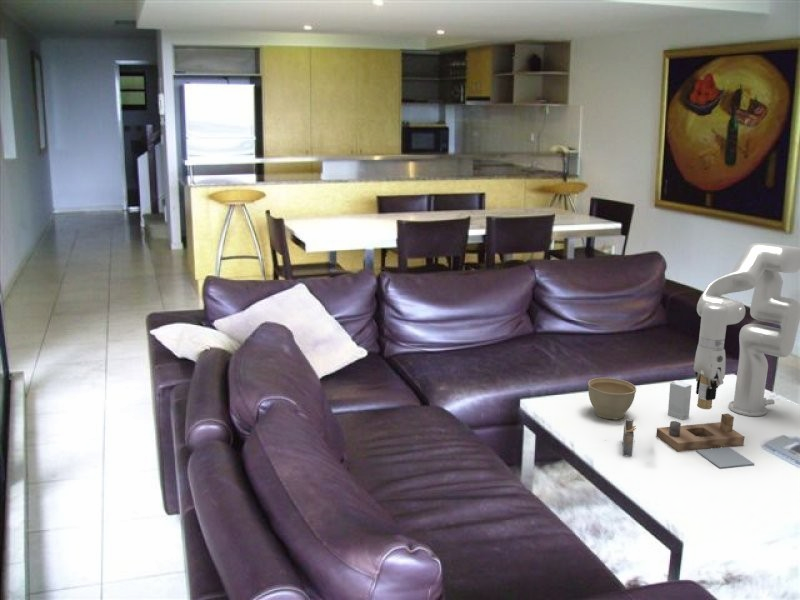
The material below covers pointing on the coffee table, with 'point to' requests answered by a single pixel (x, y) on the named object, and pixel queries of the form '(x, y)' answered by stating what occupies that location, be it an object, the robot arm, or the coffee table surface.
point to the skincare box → (679, 399)
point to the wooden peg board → (711, 432)
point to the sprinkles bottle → (703, 393)
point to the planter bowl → (611, 397)
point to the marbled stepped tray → (628, 437)
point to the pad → (724, 457)
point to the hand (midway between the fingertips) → (705, 395)
